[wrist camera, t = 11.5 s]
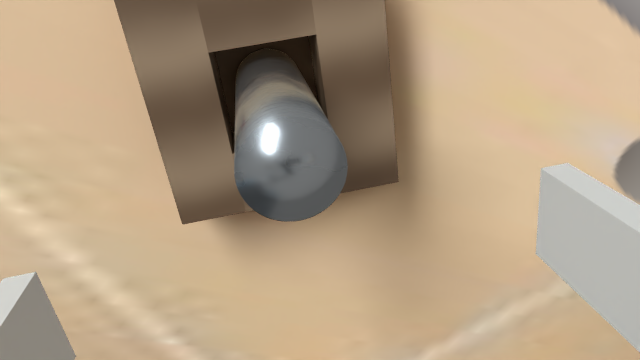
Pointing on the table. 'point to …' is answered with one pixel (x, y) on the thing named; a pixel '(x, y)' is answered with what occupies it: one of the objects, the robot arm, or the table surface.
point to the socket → (208, 98)
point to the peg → (283, 141)
